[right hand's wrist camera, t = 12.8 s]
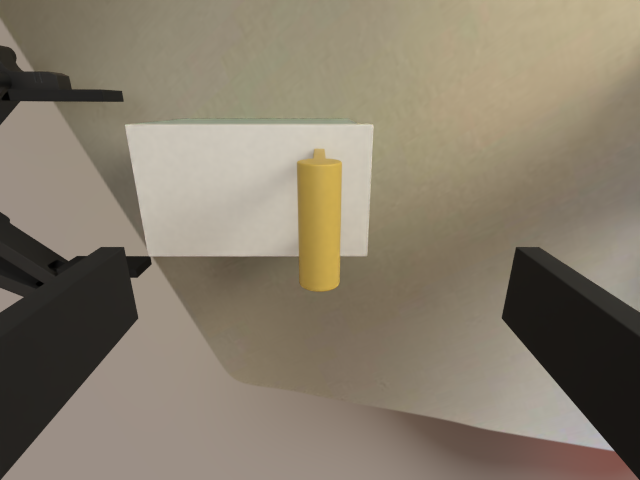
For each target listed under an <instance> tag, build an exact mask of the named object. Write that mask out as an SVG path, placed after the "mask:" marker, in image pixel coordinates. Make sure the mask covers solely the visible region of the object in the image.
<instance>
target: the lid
mask: <svg viewBox="0 0 640 480" xmlns="http://www.w3.org/2000/svg"><path fill="white" fill-rule="evenodd" d="M373 126H374V125H372V124H127V125H125V129H126V134H127V140H128V146H129V151H130V157H131V162H132V168H133V174H134V179H135V185H136V190H137V196H138V202H139V207H140V213H141V218H142V224H143V230H144V235H145V241H146V246H147V252H148V256H299V283H300V285H301V286H302V287H303V288H305V289H307V290H310V291H316V292H323V291H329V290H332V289H334V288H336V287H337V286H338V285H339V283H340V256H367V249H368V228H369V208H370V187H371V167H372V147H373Z"/></svg>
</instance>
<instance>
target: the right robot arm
mask: <svg viewBox="0 0 640 480" xmlns="http://www.w3.org/2000/svg"><path fill="white" fill-rule="evenodd" d="M137 319H138V314H137V309H136V305H135V300H134V295H133V290H132V285H131V280H130V275H129V270H128V265H127V260H126V255H125V250H124V247H101V248H99V249H97V250H96V251H95V252H93V253H91V254H90V255H88V256H87V257H85V258H84V259H82V260H81V261H79V262H77V263H76V264H74V265H73V266H71V267H70V268H68V269H67V270H65V271H64V272H62V273H60V274H59V275H57V276H56V277H54V278H53V279H51V280H50V281H48V282H47V283H45V284H44V285H42V286H40V287H39V288H37V289H36V290H34V291H33V292H31V293H30V294H28V295H27V296H25V297H24V298H22V299H21V300H19V301H17V302H16V303H14V304H13V305H11V306H10V307H8V308H7V309H5V310H4V311H2V312H1V313H0V480H1V479H2V478H3V476H4V475H5V474H6V473H7V472H8V471H9V469H10V468H11V467H12V466H13V465H14V463H15V462H16V461H17V460H18V459H19V458H20V456H21V455H22V454H23V453H24V452H25V451H26V449H27V448H28V447H29V446H30V445H31V444H32V442H33V441H34V440H35V439H36V438H37V436H38V435H39V434H40V433H41V432H42V431H43V429H44V428H45V427H46V426H47V425H48V424H49V422H50V421H51V420H52V419H53V418H54V417H55V415H56V414H57V413H58V412H59V411H60V409H61V408H62V407H63V406H64V405H65V404H66V402H67V401H68V400H69V399H70V398H71V397H72V395H73V394H74V393H75V392H76V391H77V389H78V388H79V387H80V386H81V385H82V384H83V382H84V381H85V380H86V379H87V378H88V377H89V375H90V374H91V373H92V372H93V371H94V370H95V368H96V367H97V366H98V365H99V364H100V362H101V361H102V360H103V359H104V358H105V357H106V355H107V354H108V353H109V352H110V351H111V350H112V348H113V347H114V346H115V345H116V344H117V343H118V341H119V340H120V339H121V338H122V337H123V336H124V334H125V333H126V332H127V331H128V330H129V329H130V327H131V326H132V325H133V324H134V323H135V321H136V320H137ZM502 319H503V320H504V321H505V323H506V324H507V325H508V326H509V327H510V329H511V330H512V331H513V332H514V333H515V334H516V336H517V337H518V338H519V339H520V340H521V341H522V343H523V344H524V345H525V346H526V347H527V348H528V350H529V351H530V352H531V353H532V354H533V356H534V357H535V358H536V359H537V360H538V361H539V363H540V364H541V365H542V366H543V367H544V368H545V370H546V371H547V372H548V373H549V374H550V375H551V377H552V378H553V379H554V380H555V381H556V382H557V384H558V385H559V386H560V387H561V388H562V390H563V391H564V392H565V393H566V394H567V395H568V397H569V398H570V399H571V400H572V401H573V402H574V404H575V405H576V406H577V407H578V408H579V409H580V411H581V412H582V413H583V414H584V415H585V417H586V418H587V419H588V420H589V421H590V422H591V424H592V425H593V426H594V427H595V428H596V429H597V431H598V432H599V433H600V434H601V435H602V436H603V438H604V439H605V440H606V441H607V442H608V444H609V445H610V446H611V447H612V448H613V449H614V451H615V452H616V453H617V454H618V455H619V456H620V458H621V459H622V460H623V461H624V462H625V463H626V465H627V466H628V467H629V468H630V469H631V470H632V472H633V473H634V474H635V475H636V476H637V477H638V479H639V480H640V312H638V311H636V310H635V309H633V308H632V307H630V306H629V305H627V304H626V303H624V302H623V301H621V300H620V299H618V298H616V297H615V296H613V295H612V294H610V293H609V292H607V291H606V290H604V289H603V288H601V287H600V286H598V285H596V284H595V283H593V282H592V281H590V280H589V279H587V278H586V277H584V276H583V275H581V274H579V273H578V272H576V271H575V270H573V269H572V268H570V267H569V266H567V265H566V264H564V263H563V262H561V261H559V260H558V259H556V258H555V257H553V256H552V255H550V254H549V253H547V252H546V251H544V250H543V249H541V248H539V247H516V250H515V255H514V260H513V265H512V270H511V275H510V280H509V285H508V290H507V295H506V299H505V304H504V309H503V314H502Z"/></svg>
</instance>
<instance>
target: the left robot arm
mask: <svg viewBox="0 0 640 480" xmlns="http://www.w3.org/2000/svg"><path fill="white" fill-rule="evenodd" d="M20 101H92V102H124V101H123V95H122V91H114V90H72V88H71V84H70V79H69V76H67V75H64V74H62V73H54V72H24V71H22V70H21V69H20V68H19V67H18V66H17V64H16V54H15V52H14V51H13V50H12V49H11V48H9V47H5V46H0V125H1V123H2V122H3V121H4V120H5V119H6V117H7V116H8V115H9V114H10V113H11V112H12V110H13V109H14V108H15V107H16V106H17V104H18V103H19V102H20ZM85 257H87V256H76V257H75V258H73V259H72V260H70V261H67V260H66V259H64V258H63V257H61V256H60V255H58V254H56V253H55V252H53V251H52V250H50V249H49V248H47V247H46V246H44V245H43V244H41V243H40V242H38V241H36V240H35V239H33V238H32V237H30V236H29V235H27V234H26V233H24V232H23V231H21V230H20V229H18V228H16V227H15V226H13V225H12V224H11V223H10V219H9V218H8V217H7V216H5V215H4V214H2V213H1V212H0V288H2V289H5V290H8V291H10V292H13V293H16V294H18V295H20V296H23V297H25V296H27V295H28V294H30V293H31V292H33V291H34V290H36V289H37V288H39V287H40V286H42V285H44V284H45V283H47V282H48V281H50V280H51V279H53V278H54V277H56V276H57V275H59V274H60V273H62V272H64V271H65V270H67V269H68V268H70V267H71V266H73V265H74V264H76V263H77V262H79V261H81V260H82V259H84V258H85ZM126 260H127V265H128V270H129V275H130V278H137V277H139V276H140V275H141V274H142V273H143V272H144V271H145V270H146V269H147V268H148V267H149V266H150V265H151V258H150V256H126Z"/></svg>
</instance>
